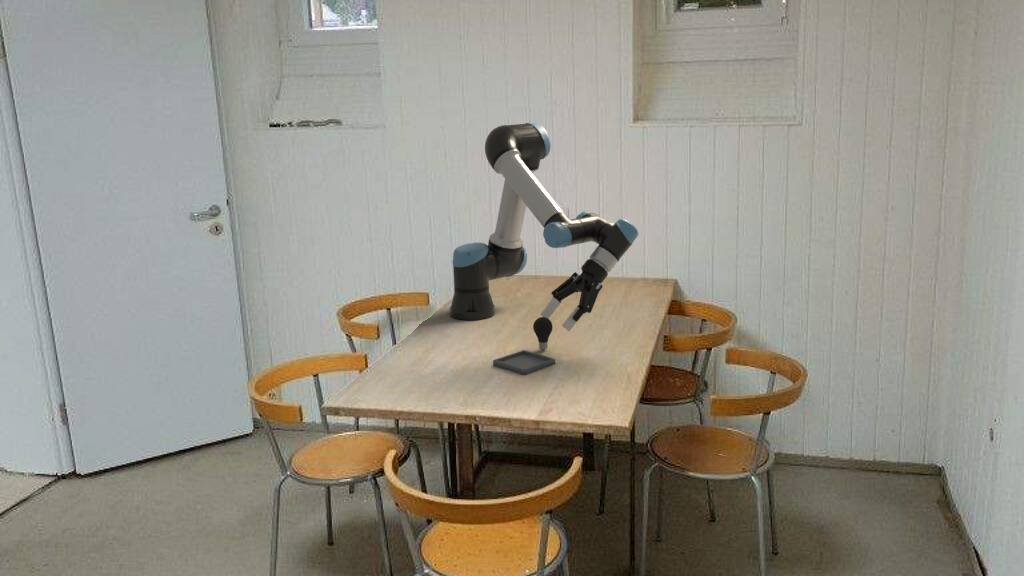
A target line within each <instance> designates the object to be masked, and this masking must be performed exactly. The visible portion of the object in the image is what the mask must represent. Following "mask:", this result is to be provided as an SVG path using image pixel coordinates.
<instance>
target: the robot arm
mask: <svg viewBox="0 0 1024 576" xmlns="http://www.w3.org/2000/svg"><path fill="white" fill-rule="evenodd" d="M484 143H485V144H484V152H485V153H484V154H485V157H486V160H487V162H488V164H489V165H490V167H491V168H492V170H494V172H495V173H496V174H499V175H502V177H503V178H504V183H503V188H502V193H501V198H500V204H499V209H498V215H497V219H496V223H495V224H496V225H495V229H494V232H493V233H492V234H489V236H488V237H489V238H488V242H487V244H486V243H485V242H472V243H471V242H469V243H465V244H462V245H459V246H458V247H456V248H454V250H453V253H452V267H453V287H454V288H453V289H454V290H453V297H452V300H451V305H450V306H449V316H450V317H451V318H453V319H455V320H456V319H457V320H462V321H463V320H466V321H474V320H475V321H477V320H484V319H489V318H491V317H494V316H495V315H496V308H495V307H496V306H495V304H494V301H493V298H492V296H491V293H490V281H492V280H497V279H500V278H510V277H513V276H514V275H518V274H520V273H521V272H522V271H523V270H524V268H525V267H526V264H527V262H528V254H527V252H526V251H527V248H526V246H525V245H524V241H523V239H522V238H521V232H522V228H523V222H524V218H525V213H526V209H527V208H528V209H529V211H530V212H531V213H532V215H533V216H534V217H535V219H536V220H537V221H538V222H539V223H540V225H541V226H542V227H543V231H542V235H543V238H544V242H545V244H546V245H547V246H548V247H550V248H552V249H560V248H561V249H562V248H567V247H569V246H575V245H580V244H585V243H590V242H594V243H595V244H597V247H596V248H595V249H594V251H592V253H591V254H590V255H589V258H588V259H587V260H586V261H584V263H583V265H582V266H581V267H580V268H581V271H582V272H581V273H580V274H578V273H577V272H573V273H572V275H571V276H570V277H569V278H567V279H566V280H565V281H564V282H562V283H561V284H560V285H559V286H558V287H556V288H555V289H554V290H552V291H551V295H552V298H551V299H550V301H549V302H548V304H547V305H546V306H545V308H544V309H543V310H542V312H541V313H540V314H539V315H540V317H546V318H548V319H549V318H550V317H552V315H553V313H554V312H555V311H556V309H557V308H558V307H559V306H560V305H561V303H562V301H563V300H565V299H567V298H568V297H569V296H571V295H573V294H574V293H580V297H579V298H580V299H579V303H578V304H577V306H576V307H575V308H574V309H573V310H572V312H571V313H570V314H569V316H568V317H567V318H566V319H565V321H564V322H563V323H562V325H561V326H562V327H563V328H565V330H567V332H570V331H571V330H572V328H574V326H575V325H576V323H577V322H578V321H579V320H580V319H581V317H583V315H584V314H586V313H587V314H591V313H592V310H593V308H594V306H595V304H596V301H597V298H598V295H599V294H600V292H601V290H602V288H603V287H604V285H602V283H603V282H604V281H605V279H607V277H608V273H611V271H612V270H613V268H615V266H616V265H617V263H618V262H619V261H620V259H621V258H622V257H623V256H624V255H625V254H626V253H627V251H628V250H629V248H630V247H631V246H633V244H634V242H635V240H636V239H637V238H638V237H639V230H638V229H637V227H636V226H635V225H634V224H632V223H631V222H630V221H628V220H626V219H624V218H619V219H618V220H617V221H616V222H615V223H613V222H611V221H609V220H608V219H605V218H603V217H601V216H600V215H599V214H596V213H595V212H591V211H588V210H584V211H582V212H581V213H579V214H578V215H577V216H576V218H573V219H570V218H569V217H568V215H567V214H566V213H565V212H564V210H563V209H562V208H561V207H560V205H558V203H557V202H556V201H555V199H554V198H553V197H552V196H551V194H550V193H549V192H548V191H547V190H546V188H545V186H544V185H543V184H542V183H541V182H540V181H539V180H538V178H537V177H536V175H534V172H536V171H538V170H539V167H540V164H541V160H544V159H545V158H547V157H548V156H549V154H550V152H551V148H552V147H551V138H550V136H549V133H548V132H547V130H546V128H544V126H542V125H541V124H538V123H536V122H535V123H530V122H526V123H519V124H518V123H516V124H506V125H505V124H503V125H499V126H497V127H495V128H493V129H492V130H491V131H490V132H489V134H488V135H487V137H486V139H485V142H484ZM549 320H550V319H549Z"/></svg>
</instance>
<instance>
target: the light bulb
mask: <svg viewBox="0 0 1024 576" xmlns="http://www.w3.org/2000/svg"><path fill="white" fill-rule="evenodd" d="M532 327H533V332H534V334H535V335H536V337H537V341H538V348H539V349H540V350H541V351H542V352H543V351H546V350H547V349H548V343H549V337H550V336H551V334H552V331H553V323H552V321H551V319H548V318H546V317H543V316H540V317H538V318H537V319H535V321H534V323H533V326H532Z"/></svg>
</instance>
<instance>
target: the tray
mask: <svg viewBox="0 0 1024 576" xmlns="http://www.w3.org/2000/svg"><path fill="white" fill-rule="evenodd" d="M553 364H554V365H556V358H553V357H550V356H545V355H543V354H538V353H536V352H533V351H529V350H525V349H524V350H519V351H516V352H514V353H511V354H508V355H504V356H502V357H499V358H495V359H493V360H492V366H493V367H494V366H495V367H498V368H501V369H504V370H507V371H511V372H513V373H517V374H520V375H523V376H526V375H527V374H528V375H529V374H531V373H534V372H536V371H539V370H543V369H546V368H548V367H551V366H554V365H553Z"/></svg>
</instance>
